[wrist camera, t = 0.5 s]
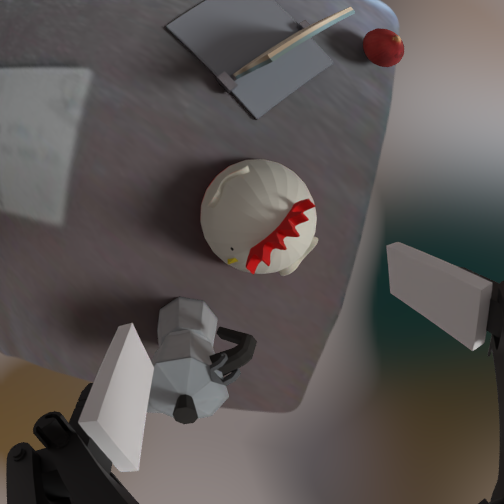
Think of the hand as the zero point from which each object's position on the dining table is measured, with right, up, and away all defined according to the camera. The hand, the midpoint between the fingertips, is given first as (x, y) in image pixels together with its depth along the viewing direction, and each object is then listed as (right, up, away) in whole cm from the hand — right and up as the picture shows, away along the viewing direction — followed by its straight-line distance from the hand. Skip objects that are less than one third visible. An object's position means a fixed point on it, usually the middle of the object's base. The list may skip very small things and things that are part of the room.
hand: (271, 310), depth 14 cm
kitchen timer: (-1, +8, +25) cm, 26 cm away
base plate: (-1, +30, +18) cm, 35 cm away
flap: (+3, +25, +13) cm, 29 cm away
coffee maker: (-9, -7, +27) cm, 29 cm away
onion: (+16, +32, +21) cm, 42 cm away
